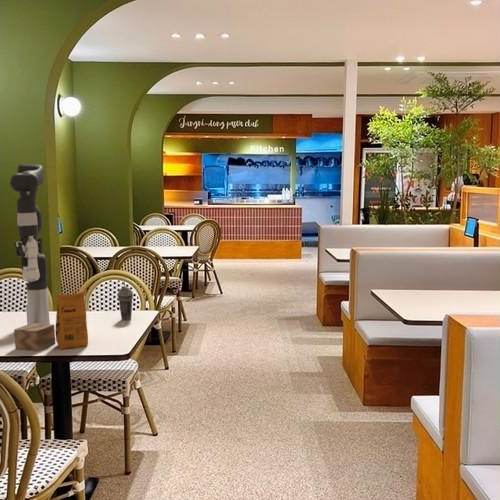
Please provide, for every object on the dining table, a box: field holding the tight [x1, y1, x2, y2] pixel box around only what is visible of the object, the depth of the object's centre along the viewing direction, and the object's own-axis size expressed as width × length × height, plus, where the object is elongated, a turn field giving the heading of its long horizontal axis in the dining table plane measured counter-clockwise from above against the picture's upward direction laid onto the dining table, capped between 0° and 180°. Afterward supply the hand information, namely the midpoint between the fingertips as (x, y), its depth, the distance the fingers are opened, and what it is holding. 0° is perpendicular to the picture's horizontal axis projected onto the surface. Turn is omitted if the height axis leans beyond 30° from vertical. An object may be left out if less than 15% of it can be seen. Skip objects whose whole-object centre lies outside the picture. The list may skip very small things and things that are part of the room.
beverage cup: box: [117, 277, 134, 321], centre depth 289 cm, size 7×7×20 cm
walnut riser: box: [13, 323, 56, 352], centre depth 246 cm, size 11×11×8 cm
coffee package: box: [55, 291, 89, 350], centre depth 245 cm, size 10×12×22 cm
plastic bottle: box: [22, 236, 40, 282], centre depth 242 cm, size 6×7×20 cm
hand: (30, 265), depth 243 cm, fingers closed on plastic bottle, 5 cm apart
